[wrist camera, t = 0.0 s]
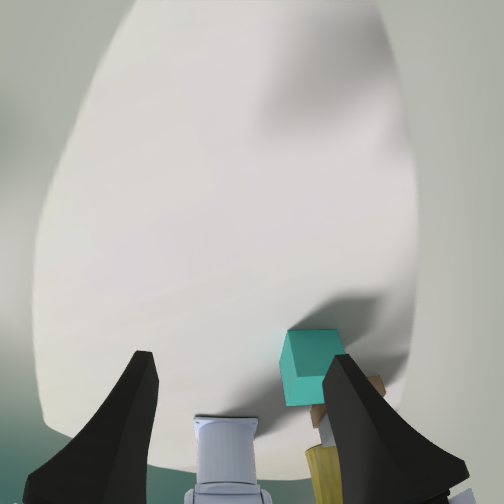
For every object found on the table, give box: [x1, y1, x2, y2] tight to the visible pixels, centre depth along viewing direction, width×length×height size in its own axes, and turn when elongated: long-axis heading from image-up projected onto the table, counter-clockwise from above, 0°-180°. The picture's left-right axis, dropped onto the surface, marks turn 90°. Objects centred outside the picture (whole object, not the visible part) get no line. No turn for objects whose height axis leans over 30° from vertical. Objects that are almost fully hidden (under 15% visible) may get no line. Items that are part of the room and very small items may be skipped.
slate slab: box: [318, 413, 336, 447], centre depth 28 cm, size 6×6×3 cm
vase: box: [305, 445, 343, 504], centre depth 35 cm, size 6×6×14 cm
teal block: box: [279, 329, 346, 406], centre depth 23 cm, size 4×4×5 cm
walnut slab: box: [310, 376, 386, 428], centre depth 30 cm, size 7×7×3 cm
